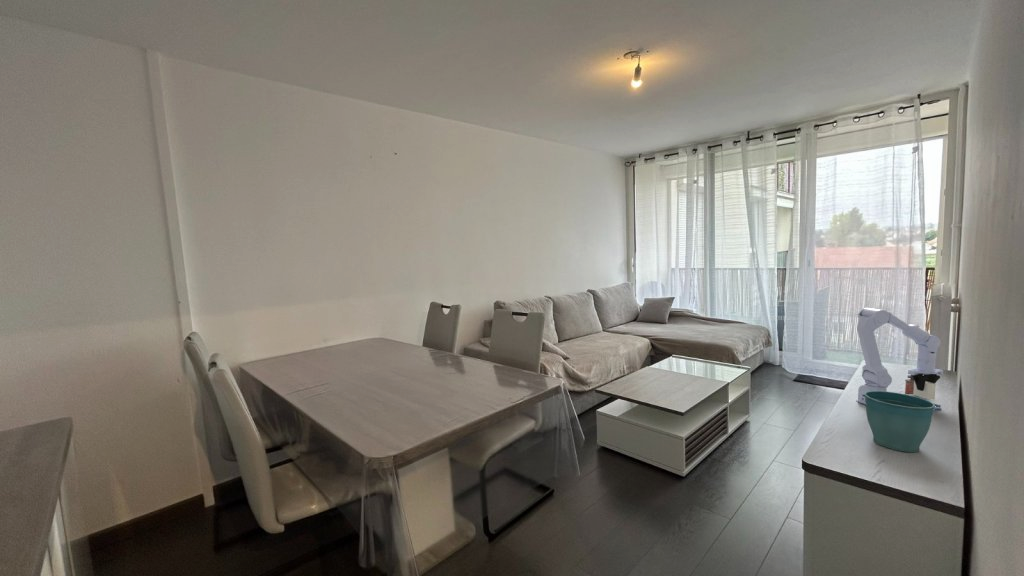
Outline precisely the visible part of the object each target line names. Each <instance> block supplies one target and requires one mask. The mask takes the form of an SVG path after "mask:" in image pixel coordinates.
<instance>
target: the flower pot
mask: <svg viewBox="0 0 1024 576" xmlns="http://www.w3.org/2000/svg"><path fill="white" fill-rule="evenodd" d="M864 395H865V402H866V405H865V411H866V412H865V414H866V418H867V421H868V424H869V428H870V430H871V433H872V436H873V438H872V439H873V441H874V442H875V443H876V444H878V445H880V446H882V447H885V448H887V449H892V450H894V451H901V452H906V453H907V452H909V453H915V452H919V451H920V448H921V445H922V442H923V441H924V439H925V438H926V436H927V435H928V433H929V431H930V427H931V424H932V419H933V414H934V410H933V409H934V408H935V405H934V404H933V403H934V402H932V401H930V400H928V399H925V398H921V397H920V398H918V397H915V396H910V395H906V394H904V393H901V392H895V391H868V392H865V394H864Z"/></svg>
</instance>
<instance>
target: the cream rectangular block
mask: <svg viewBox="0 0 1024 576" xmlns="http://www.w3.org/2000/svg"><path fill="white" fill-rule="evenodd" d="M936 385H937V383H931V382H928V381H926V382H925V386H924V390H923V391H920V390H917V387H916V383H915V381H914V390H913V395H915V396H918V397H920V398H922V399H925V400H935V399H936Z"/></svg>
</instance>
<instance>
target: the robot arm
mask: <svg viewBox="0 0 1024 576" xmlns="http://www.w3.org/2000/svg"><path fill="white" fill-rule="evenodd" d="M857 317H858V322H857V325H856V331H857V334H858V338H859V342H860V347H861V351H862V355H863V358H864V363H865V364H864V365H863V366H862V367H861V369H862V372H861V377H862V379H863V380H864V383H865V384H861V385H860V386H859V387H858V391H857V392H858V393H857V399H856V400H855V401H856V402H857V403H861V404H864V405H865V406H866V402H865V395H864V394H865V392H868V391H886V392H888V390H887V388H888V387H889V386H890V385H892V383H893V377H892V376H891V375H890V374H889V372H888V369H887V367H885V366H884V365H883V363H882V359H881V355H880V353H879V352H880V351H879V348H878V343H877V339H876V337H875V335H876V334H875V331H876V330H877V329H878V328H880V327H882V326H883V325H885V324H889V325H891V326H893V327H895V328H897V329H898V330H900V331H901V333H902V334H903V336H905V337H907V338H908V339H910V340H912V341H914V343H915V344H916V345H917V360H916V361H917V362H916V368H914V369H908V370H907V374H908V375H911V376H912V377H913V379H914V381H915V383H916V387H917V390H920V391H923V390H924V386H925V382H926V381H928V382H931V383H935V384H937V382H938V381H939V380H940V379H941V376H940V375H944V370H943V369H940V368H936V359H937V352H938V349H939V347H940V346H941V345H942V344H941V343H942V341H941V340H940V338H939V336H937V335H933V334H930V332H929V331H927V330H924V329H923V328H920V327H921V326H919V325H918V324H913V323H912V324H908V323H907V322H905V321H903V320H902V319H900V318H899V317H897V316H895V315H894V314H893V313H892V312H889V311H888V310H885V309H877V308H871V307H864V308H862V309H861V310H860V311H859V312H858V313H857Z"/></svg>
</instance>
